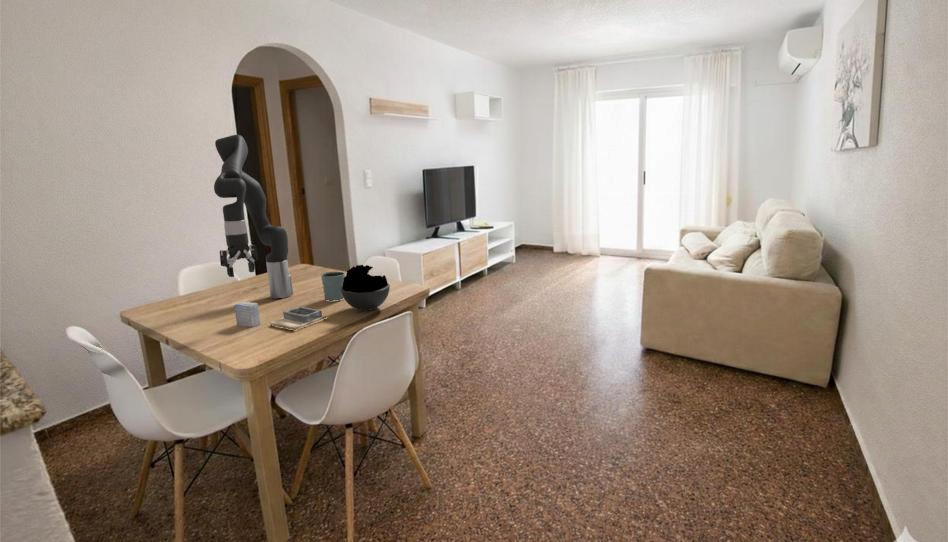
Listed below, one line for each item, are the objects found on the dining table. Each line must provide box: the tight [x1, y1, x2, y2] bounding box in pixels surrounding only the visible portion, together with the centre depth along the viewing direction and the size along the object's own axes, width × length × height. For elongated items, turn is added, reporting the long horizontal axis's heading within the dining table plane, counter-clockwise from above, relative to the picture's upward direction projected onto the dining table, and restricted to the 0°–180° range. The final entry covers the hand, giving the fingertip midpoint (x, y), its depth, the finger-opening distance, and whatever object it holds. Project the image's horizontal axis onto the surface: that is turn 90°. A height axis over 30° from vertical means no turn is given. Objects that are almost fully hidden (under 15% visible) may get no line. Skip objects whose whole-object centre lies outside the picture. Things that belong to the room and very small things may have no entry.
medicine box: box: [233, 301, 262, 328], centre depth 193 cm, size 8×4×9 cm, turn 71°
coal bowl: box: [341, 264, 391, 311], centre depth 208 cm, size 20×20×19 cm
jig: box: [269, 306, 328, 330], centre depth 194 cm, size 16×14×4 cm
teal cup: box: [321, 271, 346, 301], centre depth 224 cm, size 10×10×12 cm
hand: (241, 274), depth 189 cm, fingers open, 8 cm apart
